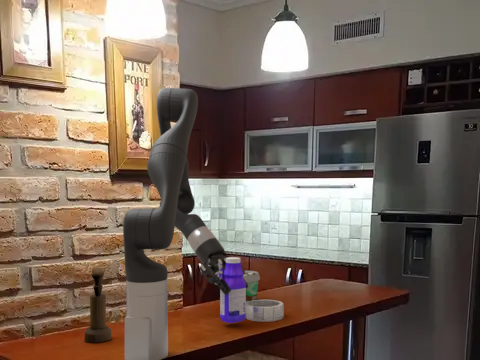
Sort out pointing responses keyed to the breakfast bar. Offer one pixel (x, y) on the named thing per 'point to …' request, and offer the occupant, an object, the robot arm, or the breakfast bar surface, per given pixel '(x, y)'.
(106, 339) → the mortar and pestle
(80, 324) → the breakfast bar surface
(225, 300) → the bottle
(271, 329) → the breakfast bar surface
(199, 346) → the breakfast bar surface
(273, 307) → the ring holder
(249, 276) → the food container
